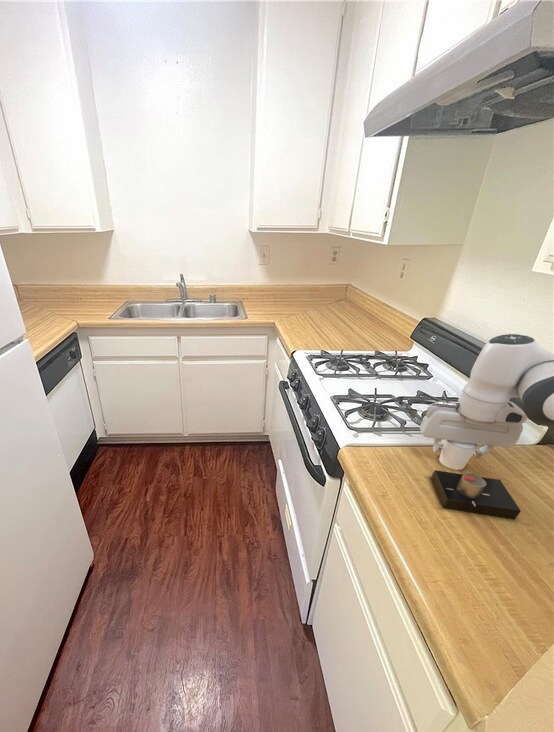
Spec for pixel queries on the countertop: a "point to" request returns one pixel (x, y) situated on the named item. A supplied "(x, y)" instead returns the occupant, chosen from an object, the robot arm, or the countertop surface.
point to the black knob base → (489, 502)
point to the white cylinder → (457, 454)
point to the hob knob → (471, 486)
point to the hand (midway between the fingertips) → (456, 454)
